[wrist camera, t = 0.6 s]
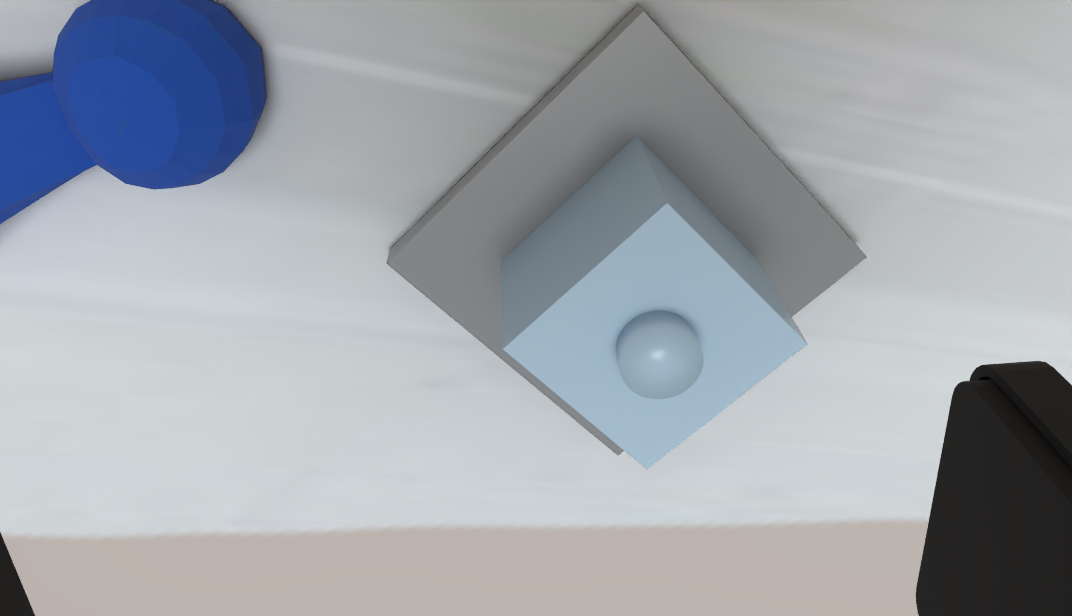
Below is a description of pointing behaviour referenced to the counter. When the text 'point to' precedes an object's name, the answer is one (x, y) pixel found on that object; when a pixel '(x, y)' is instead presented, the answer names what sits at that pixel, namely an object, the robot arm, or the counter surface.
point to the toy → (133, 100)
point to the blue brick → (642, 307)
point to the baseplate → (583, 149)
